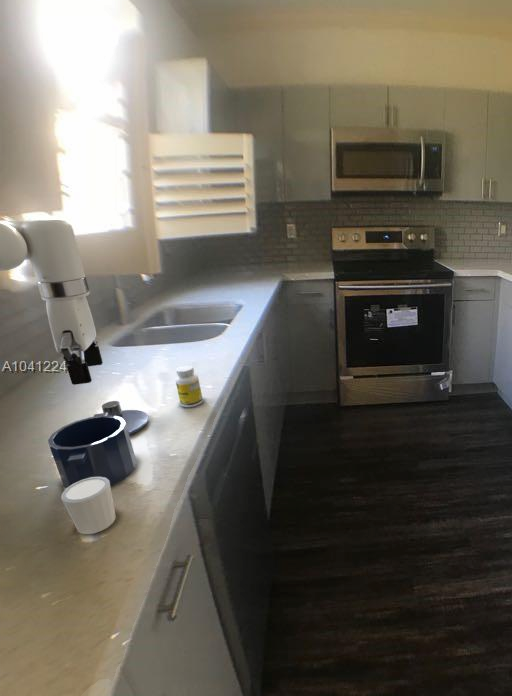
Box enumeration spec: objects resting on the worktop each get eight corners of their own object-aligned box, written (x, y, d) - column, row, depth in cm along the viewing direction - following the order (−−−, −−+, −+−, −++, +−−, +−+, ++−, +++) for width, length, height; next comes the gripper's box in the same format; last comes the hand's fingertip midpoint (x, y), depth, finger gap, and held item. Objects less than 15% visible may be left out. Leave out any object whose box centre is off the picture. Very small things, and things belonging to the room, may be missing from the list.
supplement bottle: (176, 404, 118) (168, 369, 114) (194, 396, 122) (188, 362, 118) (188, 409, 115) (181, 374, 111) (207, 401, 119) (200, 366, 115)
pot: (48, 508, 81) (31, 462, 77) (78, 454, 97) (65, 415, 93) (126, 493, 84) (114, 449, 81) (143, 444, 100) (133, 405, 97)
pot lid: (75, 447, 99) (67, 422, 97) (92, 419, 112) (85, 396, 109) (143, 437, 103) (137, 412, 101) (153, 410, 115) (147, 388, 113)
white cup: (103, 504, 82) (92, 472, 79) (128, 515, 79) (118, 482, 76) (63, 529, 76) (51, 495, 73) (90, 542, 73) (77, 506, 70)
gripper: (55, 281, 91) (78, 361, 98) (23, 301, 76) (53, 394, 82) (97, 278, 93) (117, 357, 100) (75, 297, 78) (100, 388, 85)
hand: (88, 373), depth 91 cm, fingers open, 9 cm apart
